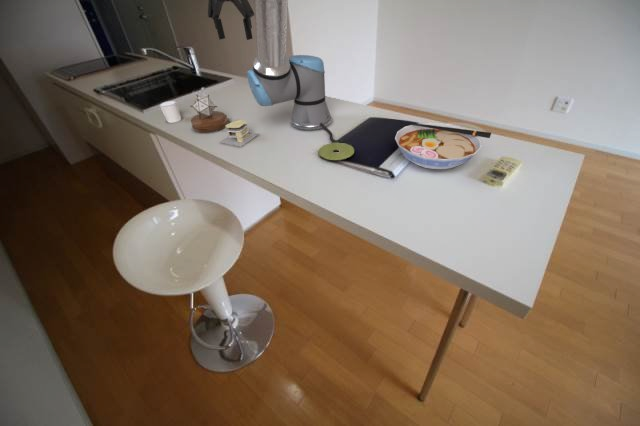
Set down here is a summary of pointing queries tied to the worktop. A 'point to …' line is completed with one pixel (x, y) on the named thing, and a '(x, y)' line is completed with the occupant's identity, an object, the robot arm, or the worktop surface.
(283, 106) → the worktop surface
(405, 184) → the worktop surface
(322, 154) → the green disc with hole
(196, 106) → the grey faceted polyhedron
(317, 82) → the robot arm
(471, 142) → the ramen bowl
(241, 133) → the stacked layers on plate
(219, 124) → the brown round disc
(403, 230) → the worktop surface
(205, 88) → the worktop surface
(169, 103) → the white cup
